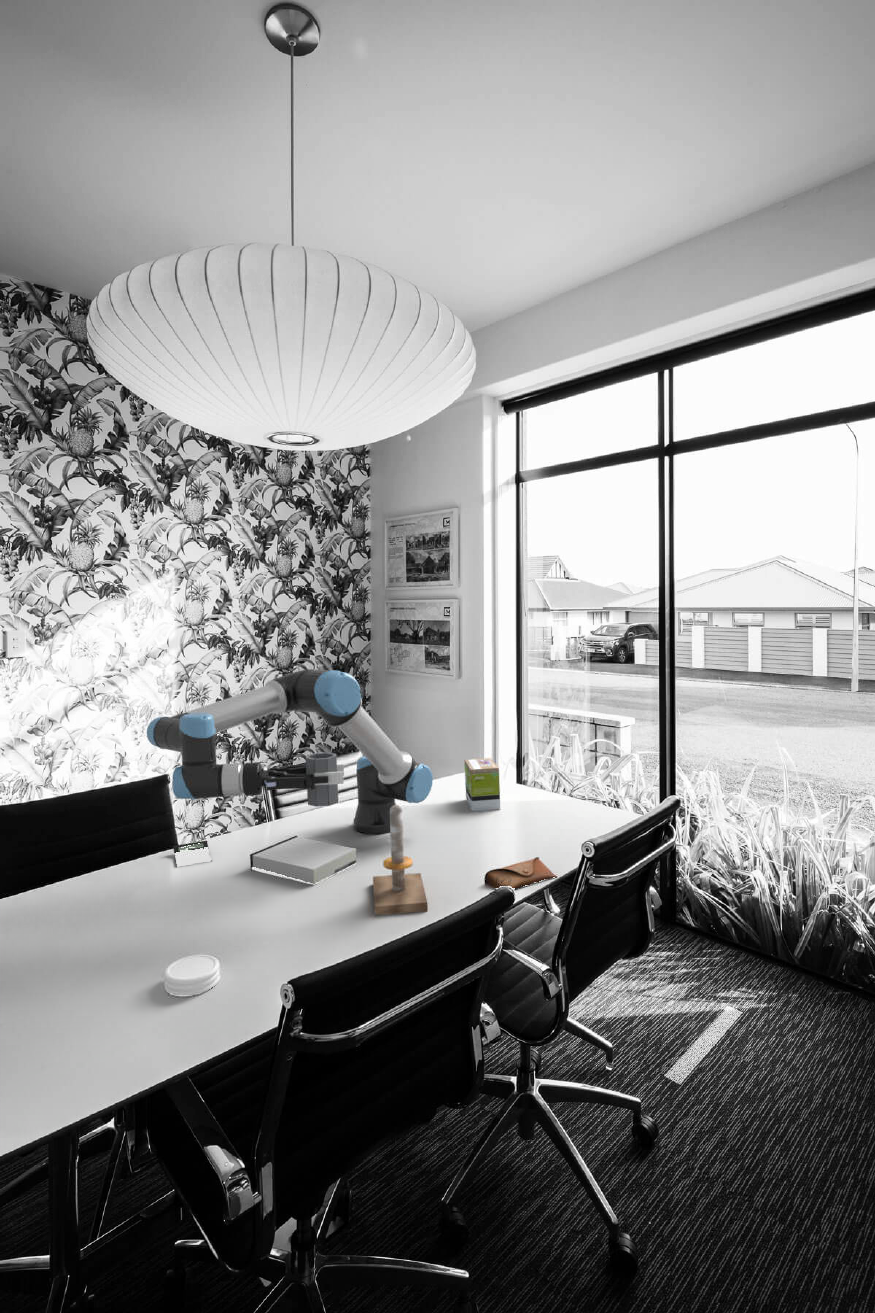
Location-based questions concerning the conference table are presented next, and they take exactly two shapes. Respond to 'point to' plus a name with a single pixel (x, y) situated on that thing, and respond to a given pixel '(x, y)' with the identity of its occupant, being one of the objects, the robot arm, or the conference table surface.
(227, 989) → the conference table surface
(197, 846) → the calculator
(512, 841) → the conference table surface
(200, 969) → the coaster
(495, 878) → the sunglasses case
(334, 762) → the sleeve
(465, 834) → the conference table surface
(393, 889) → the post stand
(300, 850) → the disc drive
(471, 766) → the tea box
